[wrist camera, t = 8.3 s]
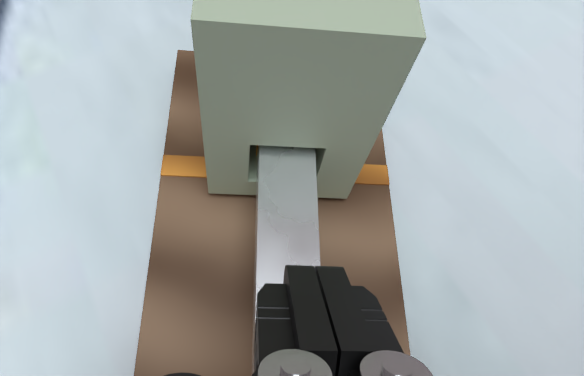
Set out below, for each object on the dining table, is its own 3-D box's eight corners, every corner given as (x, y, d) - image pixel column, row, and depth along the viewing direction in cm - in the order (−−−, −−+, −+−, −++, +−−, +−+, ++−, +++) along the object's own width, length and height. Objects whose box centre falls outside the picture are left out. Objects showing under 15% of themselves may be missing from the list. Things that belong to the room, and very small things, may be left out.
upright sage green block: (214, 111, 25) (203, -87, 16) (340, 118, 26) (405, -67, 16) (208, 193, 23) (190, 19, 13) (347, 198, 24) (426, 38, 14)
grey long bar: (258, 60, 25) (260, 25, 23) (304, 64, 25) (311, 28, 23) (243, 624, 14) (245, 659, 12) (323, 619, 15) (339, 653, 12)
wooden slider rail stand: (180, 67, 29) (164, -41, 22) (367, 80, 30) (405, -19, 24) (100, 688, 16) (6, 872, 9) (434, 664, 17) (561, 810, 11)
